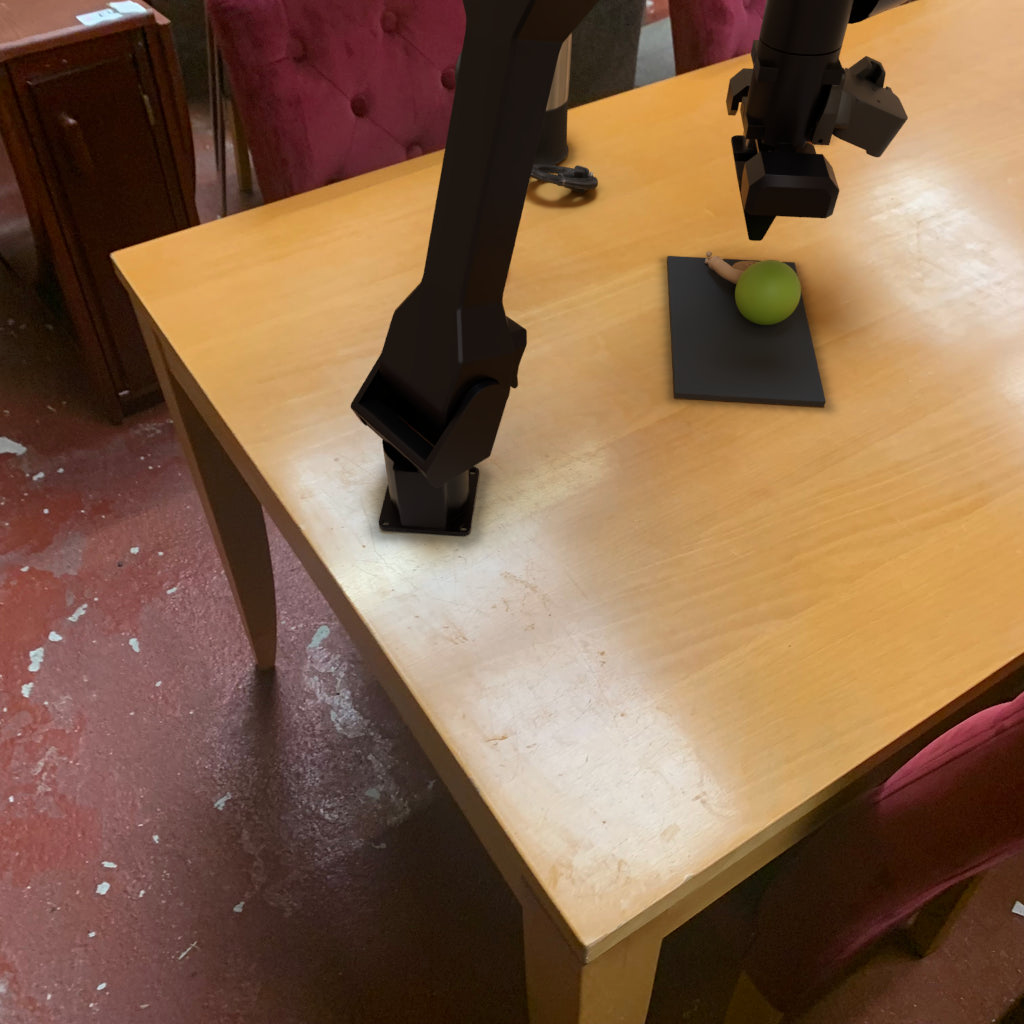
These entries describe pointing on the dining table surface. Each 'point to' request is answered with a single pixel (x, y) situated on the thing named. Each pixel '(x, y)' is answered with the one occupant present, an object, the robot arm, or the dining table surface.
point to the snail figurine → (761, 288)
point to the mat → (735, 343)
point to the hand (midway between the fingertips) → (754, 238)
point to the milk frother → (557, 132)
